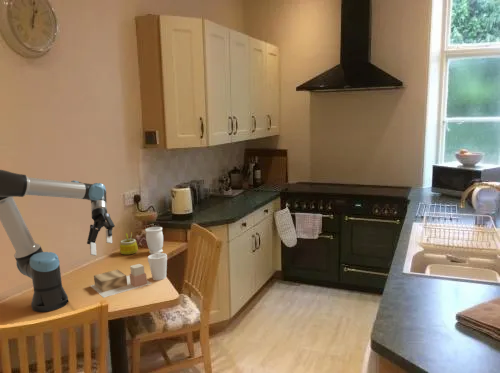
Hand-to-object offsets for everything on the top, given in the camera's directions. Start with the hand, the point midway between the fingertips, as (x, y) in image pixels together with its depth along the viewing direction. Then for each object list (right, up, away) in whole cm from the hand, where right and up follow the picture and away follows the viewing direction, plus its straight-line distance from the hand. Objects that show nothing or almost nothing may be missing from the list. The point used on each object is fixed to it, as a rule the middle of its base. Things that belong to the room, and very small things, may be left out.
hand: (101, 249), depth 209 cm
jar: (+13, -11, +61) cm, 64 cm away
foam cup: (+26, -18, +11) cm, 33 cm away
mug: (-4, -11, +64) cm, 65 cm away
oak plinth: (+3, -18, +5) cm, 19 cm away
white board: (+8, -20, +5) cm, 22 cm away
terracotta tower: (+17, -18, +5) cm, 25 cm away
